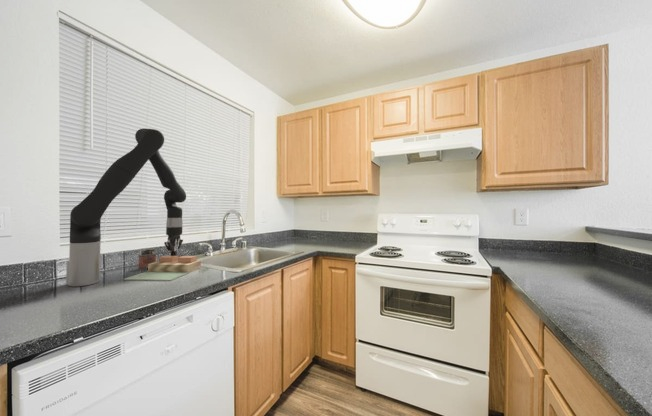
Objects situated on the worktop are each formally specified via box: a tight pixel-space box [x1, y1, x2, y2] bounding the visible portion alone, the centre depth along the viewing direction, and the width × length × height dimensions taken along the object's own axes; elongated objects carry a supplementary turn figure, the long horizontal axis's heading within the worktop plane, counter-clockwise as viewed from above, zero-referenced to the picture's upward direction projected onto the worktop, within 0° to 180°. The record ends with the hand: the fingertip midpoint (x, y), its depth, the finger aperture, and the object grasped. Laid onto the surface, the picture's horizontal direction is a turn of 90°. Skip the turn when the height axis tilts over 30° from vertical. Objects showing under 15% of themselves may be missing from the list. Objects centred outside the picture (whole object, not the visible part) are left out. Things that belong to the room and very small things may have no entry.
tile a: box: [158, 254, 179, 262], centre depth 130 cm, size 7×5×2 cm
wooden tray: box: [147, 259, 202, 274], centre depth 127 cm, size 20×12×4 cm, turn 89°
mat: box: [123, 271, 189, 282], centre depth 114 cm, size 21×13×1 cm, turn 89°
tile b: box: [178, 255, 198, 263], centre depth 129 cm, size 7×5×2 cm
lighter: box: [137, 248, 157, 270], centre depth 131 cm, size 8×3×10 cm, turn 147°
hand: (173, 257), depth 134 cm, fingers closed
